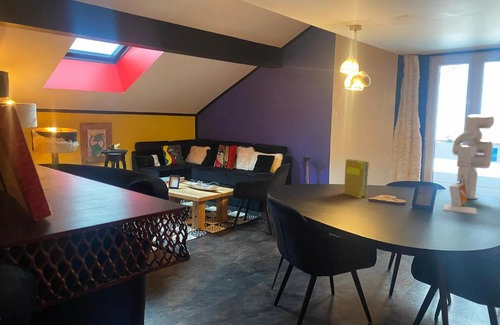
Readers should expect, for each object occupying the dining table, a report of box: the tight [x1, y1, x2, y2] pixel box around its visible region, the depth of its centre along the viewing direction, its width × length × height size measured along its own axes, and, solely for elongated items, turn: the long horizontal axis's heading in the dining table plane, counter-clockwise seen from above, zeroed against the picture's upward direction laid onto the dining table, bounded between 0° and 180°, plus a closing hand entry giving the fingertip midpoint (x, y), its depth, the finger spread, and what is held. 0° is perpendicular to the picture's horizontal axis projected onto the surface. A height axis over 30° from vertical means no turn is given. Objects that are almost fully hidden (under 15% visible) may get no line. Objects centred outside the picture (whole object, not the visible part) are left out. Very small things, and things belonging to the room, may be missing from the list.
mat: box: [443, 203, 478, 215], centre depth 240 cm, size 16×18×1 cm
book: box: [343, 158, 370, 199], centre depth 274 cm, size 17×7×25 cm, turn 34°
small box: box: [449, 182, 468, 206], centre depth 249 cm, size 8×6×13 cm
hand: (460, 192), depth 253 cm, fingers closed
